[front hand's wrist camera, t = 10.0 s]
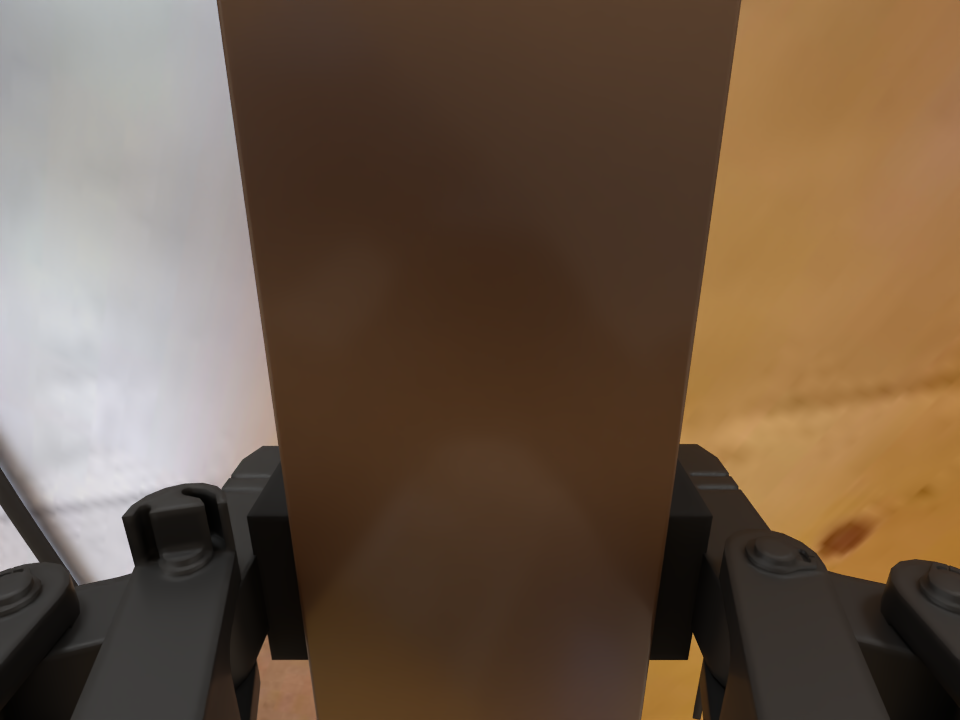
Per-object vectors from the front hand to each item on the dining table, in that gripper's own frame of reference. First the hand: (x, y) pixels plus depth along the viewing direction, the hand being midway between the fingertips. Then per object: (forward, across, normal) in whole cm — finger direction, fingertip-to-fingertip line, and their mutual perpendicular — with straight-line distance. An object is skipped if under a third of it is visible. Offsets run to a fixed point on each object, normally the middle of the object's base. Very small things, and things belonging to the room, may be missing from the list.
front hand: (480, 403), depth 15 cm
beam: (+1, 0, -25) cm, 25 cm away
